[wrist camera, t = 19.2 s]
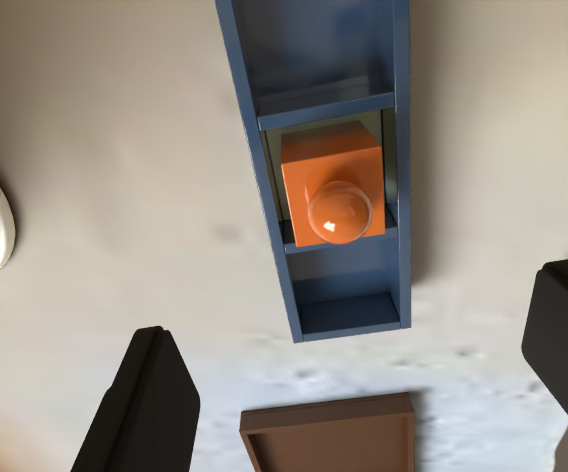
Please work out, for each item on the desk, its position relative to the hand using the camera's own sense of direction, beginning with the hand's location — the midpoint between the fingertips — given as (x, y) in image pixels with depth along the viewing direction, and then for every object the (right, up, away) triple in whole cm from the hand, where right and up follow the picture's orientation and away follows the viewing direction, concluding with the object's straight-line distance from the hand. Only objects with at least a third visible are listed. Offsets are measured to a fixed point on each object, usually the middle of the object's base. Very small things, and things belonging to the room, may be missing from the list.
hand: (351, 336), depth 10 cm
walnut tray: (+3, -19, +27) cm, 33 cm away
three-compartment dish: (+1, +7, +12) cm, 14 cm away
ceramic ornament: (+1, +7, +12) cm, 13 cm away
